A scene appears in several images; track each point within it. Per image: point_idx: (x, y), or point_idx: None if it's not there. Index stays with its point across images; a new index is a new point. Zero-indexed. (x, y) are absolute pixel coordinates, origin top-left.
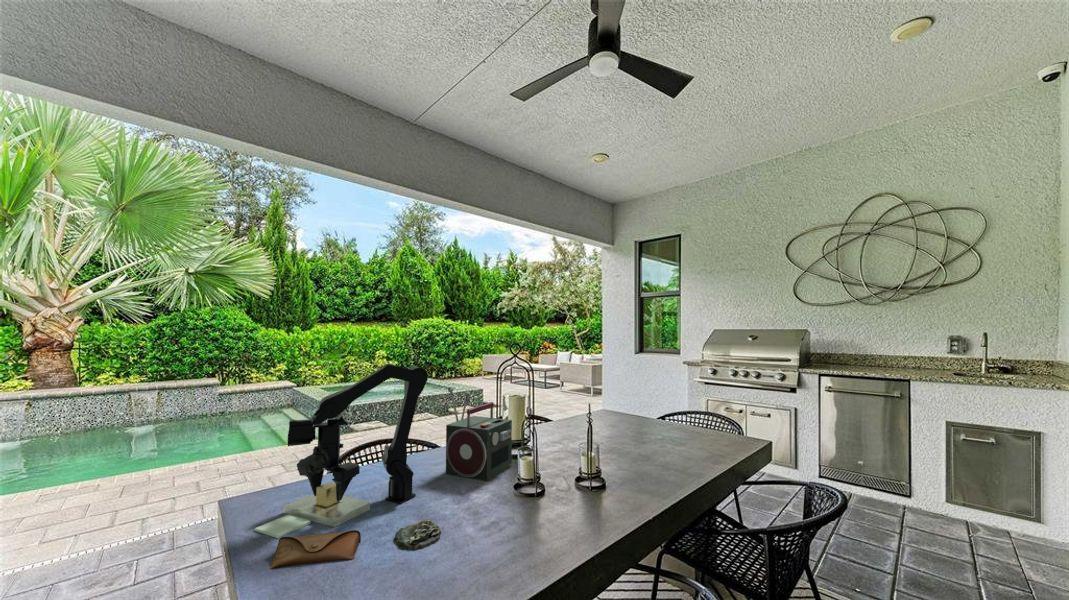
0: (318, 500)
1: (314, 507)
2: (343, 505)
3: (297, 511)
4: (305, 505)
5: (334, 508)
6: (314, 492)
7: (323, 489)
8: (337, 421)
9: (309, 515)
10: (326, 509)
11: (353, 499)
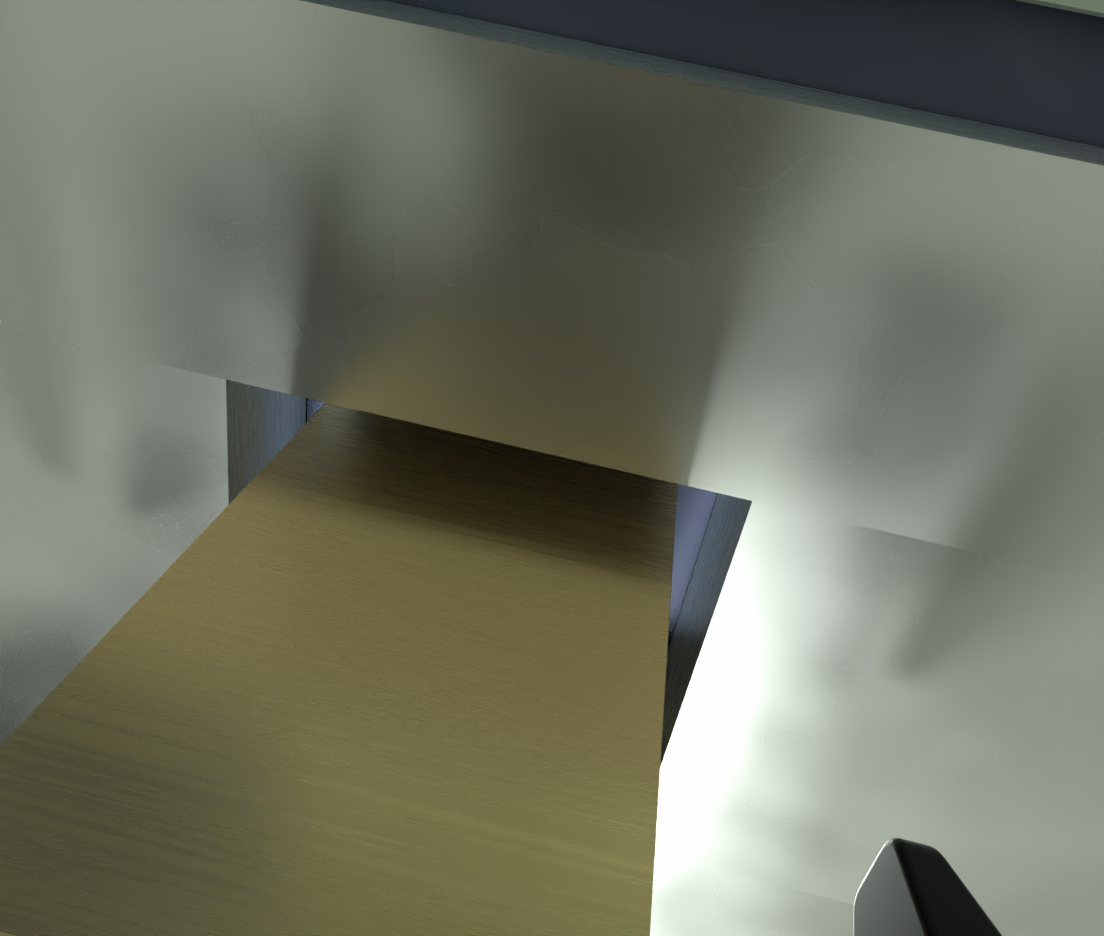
0: (560, 607)
1: (604, 406)
2: (46, 620)
3: (1066, 151)
4: (986, 473)
5: (66, 454)
6: (932, 932)
7: (118, 913)
8: None
9: (481, 28)
10: (180, 360)
11: None
